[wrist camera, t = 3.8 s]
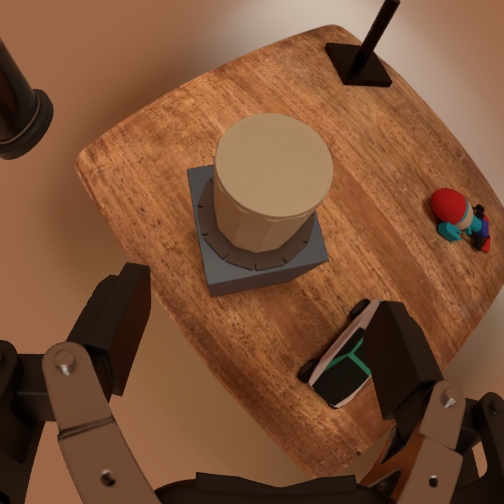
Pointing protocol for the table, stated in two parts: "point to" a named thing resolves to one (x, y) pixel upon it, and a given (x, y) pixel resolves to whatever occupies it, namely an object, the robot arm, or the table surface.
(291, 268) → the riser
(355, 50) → the hat stand
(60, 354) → the robot arm
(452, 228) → the toy figure
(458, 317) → the table surface
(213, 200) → the hat
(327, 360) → the toy car
